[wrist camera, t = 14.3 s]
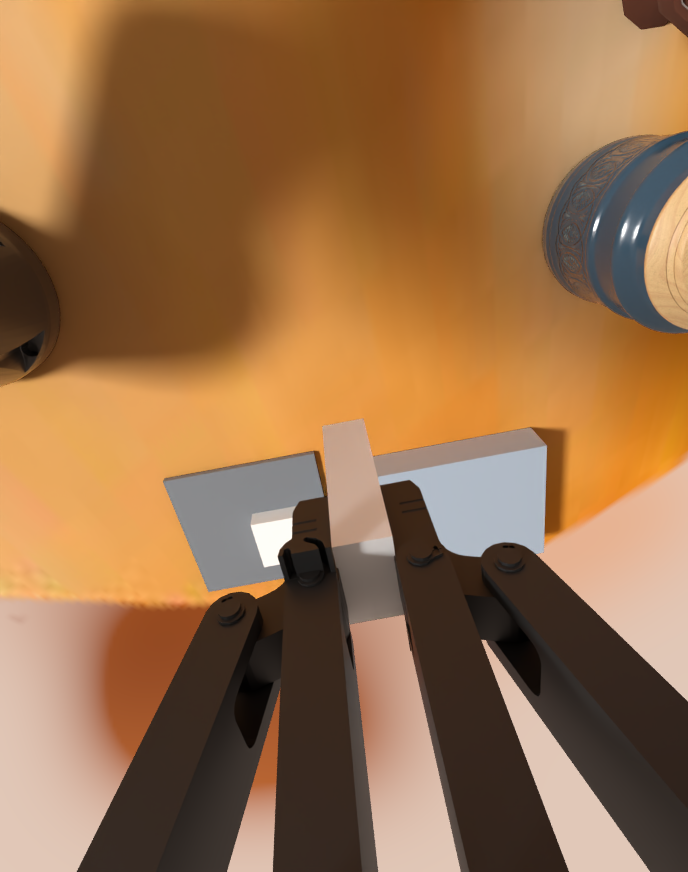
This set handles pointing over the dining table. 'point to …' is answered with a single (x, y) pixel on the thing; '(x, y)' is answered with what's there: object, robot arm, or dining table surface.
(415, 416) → the dining table surface
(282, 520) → the white rectangular block
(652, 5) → the ice cream bowl
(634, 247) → the canister
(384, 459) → the block
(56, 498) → the dining table surface
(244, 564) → the mat
